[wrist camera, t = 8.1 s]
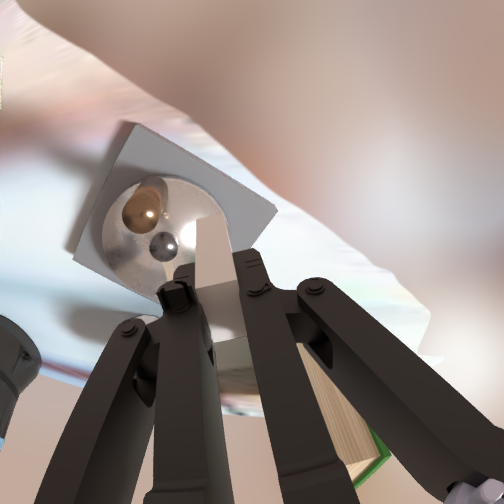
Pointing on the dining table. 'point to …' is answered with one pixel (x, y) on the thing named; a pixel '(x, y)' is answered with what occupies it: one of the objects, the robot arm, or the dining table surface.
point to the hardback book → (345, 426)
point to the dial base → (176, 164)
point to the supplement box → (0, 67)
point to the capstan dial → (155, 229)
